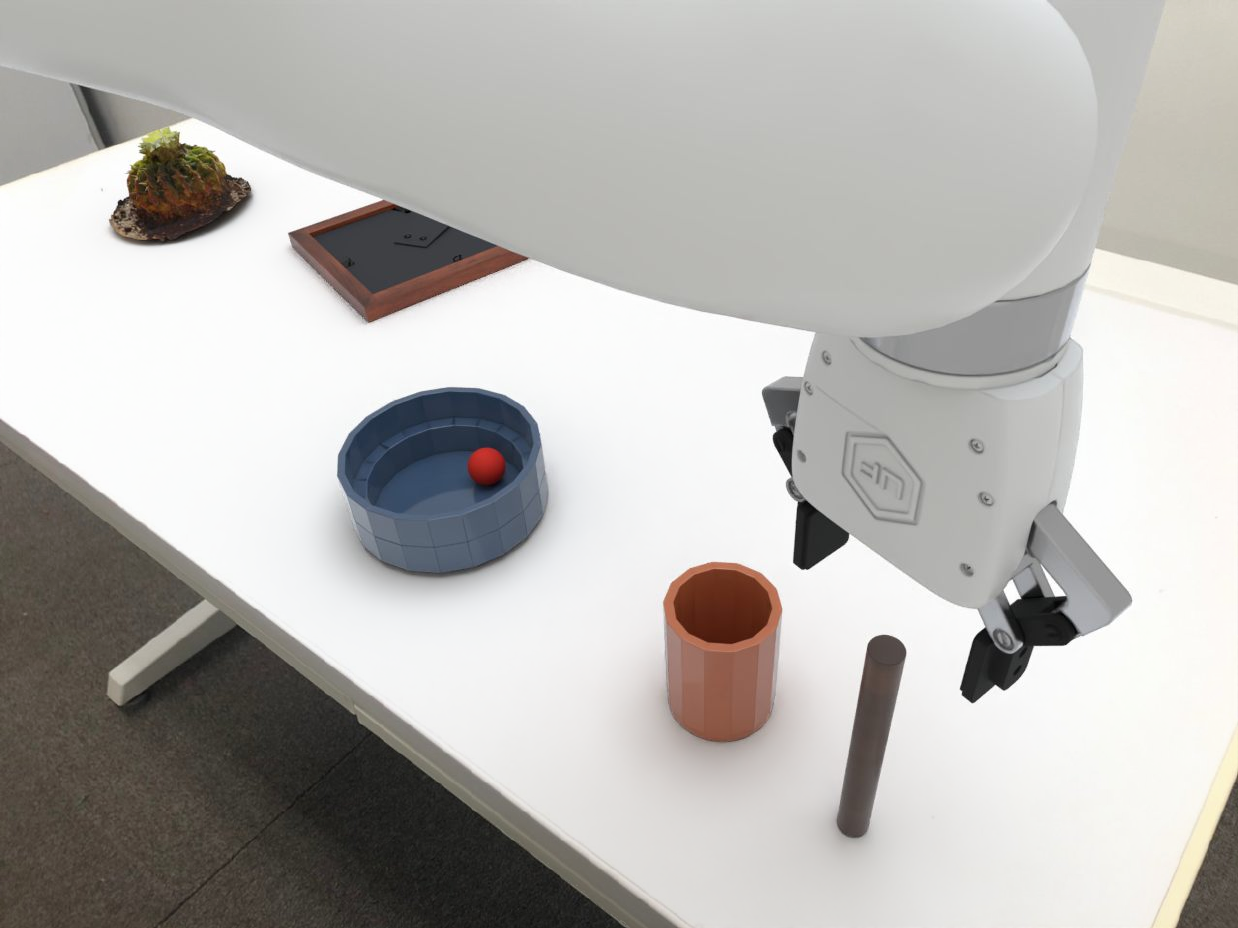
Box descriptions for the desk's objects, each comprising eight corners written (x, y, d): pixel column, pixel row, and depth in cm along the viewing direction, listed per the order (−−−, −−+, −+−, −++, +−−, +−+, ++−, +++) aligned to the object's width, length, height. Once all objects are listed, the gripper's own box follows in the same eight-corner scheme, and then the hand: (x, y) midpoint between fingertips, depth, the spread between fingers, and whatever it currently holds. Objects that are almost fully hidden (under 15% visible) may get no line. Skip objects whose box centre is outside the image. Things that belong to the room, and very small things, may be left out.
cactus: (169, 173, 129) (141, 98, 122) (278, 182, 125) (255, 105, 118) (82, 239, 116) (45, 159, 110) (200, 251, 113) (170, 169, 106)
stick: (869, 839, 57) (908, 666, 46) (837, 836, 57) (868, 663, 46) (867, 809, 58) (905, 635, 47) (836, 807, 58) (866, 632, 48)
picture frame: (484, 178, 122) (292, 246, 112) (482, 163, 121) (287, 230, 111) (575, 239, 110) (368, 322, 100) (574, 223, 109) (363, 305, 98)
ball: (503, 494, 79) (498, 465, 77) (466, 492, 79) (460, 464, 77) (511, 468, 81) (506, 440, 79) (475, 467, 82) (469, 439, 80)
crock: (774, 746, 61) (781, 655, 55) (661, 737, 62) (657, 647, 56) (775, 657, 66) (783, 565, 60) (671, 649, 67) (668, 558, 61)
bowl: (527, 584, 72) (517, 525, 68) (328, 571, 74) (307, 514, 71) (563, 447, 84) (556, 390, 80) (389, 439, 86) (373, 383, 82)
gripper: (707, 236, 38) (709, 548, 49) (1132, 466, 27) (1009, 796, 38) (846, 171, 41) (818, 478, 52) (1275, 355, 30) (1122, 690, 42)
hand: (899, 613), depth 45 cm, fingers open, 9 cm apart
